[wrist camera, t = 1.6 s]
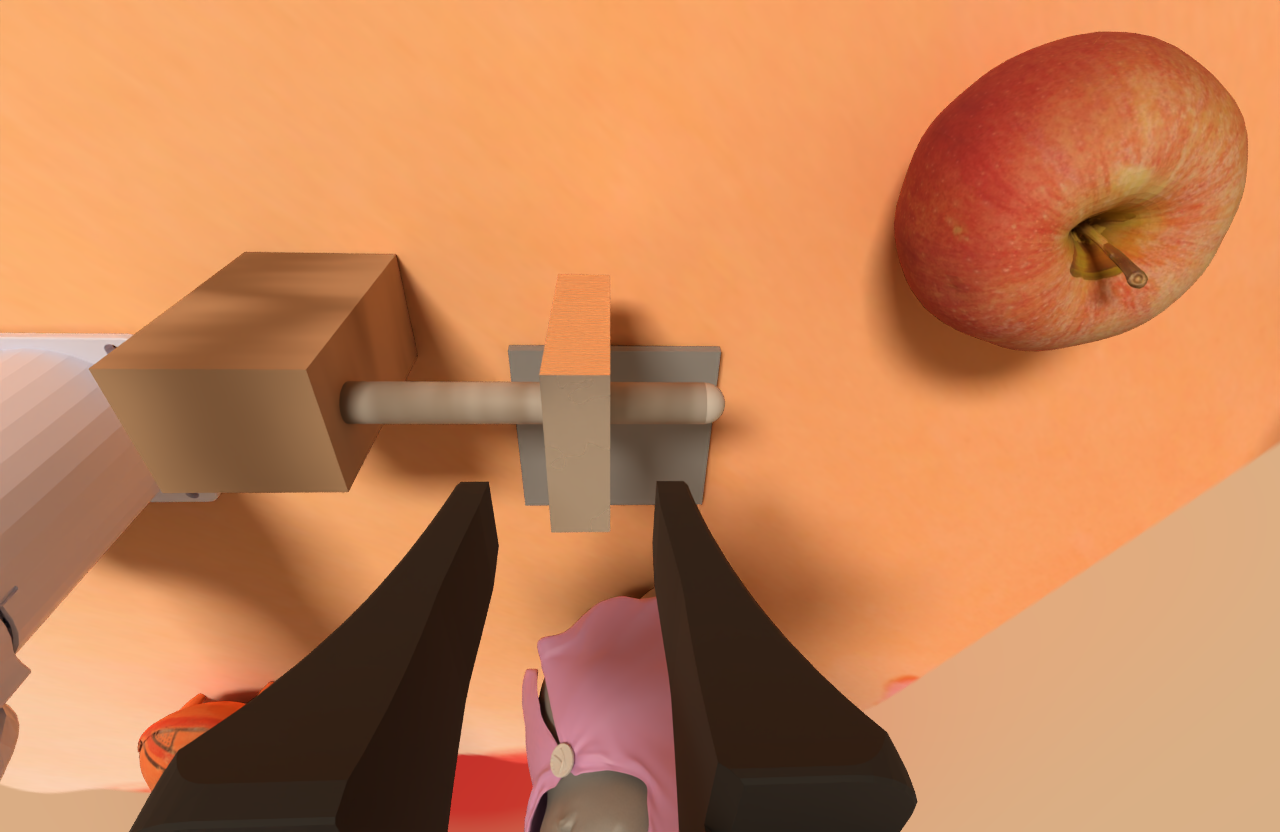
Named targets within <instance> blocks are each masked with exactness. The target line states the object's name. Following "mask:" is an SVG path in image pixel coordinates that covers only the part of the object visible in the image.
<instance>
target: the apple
mask: <svg viewBox="0 0 1280 832" xmlns="http://www.w3.org/2000/svg"><path fill="white" fill-rule="evenodd" d="M1247 161H1248V138H1247V131H1246V126H1245V122H1244V118H1243V116H1242V113H1241V111H1240V109H1239V107H1238V106H1237V104H1236V102H1235V100H1234V99H1233V98H1232V96H1231V95H1230V94H1229V93H1228V91H1227V90H1226V89H1225V88H1224V87H1223V85H1222V84H1221V83H1220V82H1219V81H1218V80H1217V79H1216V78H1215V77H1214V75H1213V74H1211V73H1210V72H1209V71H1208V70H1207V69H1206V68H1205V67H1203V66H1202V65H1201V64H1200V63H1198V62H1197V61H1196V60H1194V59H1193V58H1192V57H1191V56H1189V55H1188V54H1186V53H1185V52H1183V51H1182V50H1180V49H1179V48H1177V47H1176V46H1173V45H1171V44H1169V43H1167V42H1164V41H1162V40H1160V39H1157V38H1155V37H1151V36H1146V35H1141V34H1136V33H1128V32H1094V33H1088V34H1081V35H1076V36H1071V37H1067V38H1063V39H1060V40H1057V41H1053V42H1050V43H1047V44H1044V45H1041V46H1039V47H1036V48H1033V49H1031V50H1028V51H1026V52H1024V53H1022V54H1019V55H1017V56H1015V57H1013V58H1011V59H1009V60H1007V61H1005V62H1004V63H1002V64H1000V65H998V66H997V67H995V68H994V69H992V70H990V71H989V72H988V73H986V74H985V75H983V76H982V77H981V78H980V79H978V80H977V81H976V82H975V83H973V84H972V85H971V86H970V87H969V88H967V89H966V90H965V91H964V92H963V93H962V94H960V95H959V96H958V97H957V98H956V99H955V100H954V101H953V102H951V103H950V104H949V105H948V106H947V107H946V108H945V109H944V110H943V111H942V112H941V113H940V114H939V115H938V116H937V117H936V119H935V120H934V121H933V122H932V124H931V125H930V126H929V127H928V129H927V130H926V132H925V134H924V135H923V137H922V138H921V140H920V142H919V144H918V146H917V148H916V150H915V152H914V155H913V158H912V160H911V163H910V166H909V168H908V171H907V174H906V177H905V180H904V183H903V186H902V189H901V192H900V196H899V199H898V203H897V207H896V213H895V220H894V230H895V242H896V247H897V253H898V257H899V261H900V264H901V267H902V270H903V273H904V275H905V278H906V281H907V283H908V284H909V286H910V288H911V290H912V291H913V293H914V294H915V296H916V297H917V299H918V300H919V301H920V302H921V304H922V305H923V306H924V307H925V308H926V309H927V310H928V311H929V312H930V313H932V314H933V315H934V316H935V317H937V318H938V319H939V320H941V321H942V322H943V323H945V324H947V325H949V326H951V327H953V328H955V329H956V330H958V331H960V332H963V333H965V334H968V335H970V336H973V337H975V338H979V339H982V340H984V341H987V342H990V343H993V344H995V345H998V346H1001V347H1004V348H1009V349H1013V350H1021V351H1045V350H1054V349H1060V348H1066V347H1070V346H1075V345H1080V344H1085V343H1090V342H1094V341H1098V340H1102V339H1105V338H1109V337H1112V336H1116V335H1119V334H1122V333H1124V332H1127V331H1129V330H1132V329H1134V328H1136V327H1138V326H1140V325H1142V324H1144V323H1146V322H1147V321H1149V320H1151V319H1152V318H1154V317H1155V316H1157V315H1158V314H1160V313H1161V312H1163V311H1164V310H1165V309H1167V308H1168V307H1169V306H1170V305H1171V304H1173V303H1174V302H1175V301H1176V300H1177V299H1179V298H1180V297H1181V296H1182V295H1183V294H1184V293H1185V292H1186V291H1187V290H1188V289H1189V288H1190V287H1191V286H1192V285H1193V284H1194V283H1195V282H1196V281H1197V279H1198V278H1199V277H1200V276H1201V275H1202V274H1203V272H1204V271H1205V270H1206V268H1207V267H1208V266H1209V264H1210V262H1211V261H1212V259H1213V257H1214V256H1215V254H1216V252H1217V250H1218V248H1219V246H1220V244H1221V242H1222V240H1223V238H1224V236H1225V234H1226V232H1227V231H1228V229H1229V227H1230V225H1231V223H1232V221H1233V218H1234V216H1235V214H1236V212H1237V210H1238V207H1239V204H1240V201H1241V198H1242V195H1243V192H1244V187H1245V182H1246V173H1247Z"/></svg>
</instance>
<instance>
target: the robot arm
mask: <svg viewBox="0 0 1280 832" xmlns="http://www.w3.org/2000/svg"><path fill="white" fill-rule="evenodd" d="M132 336H133V335H131V334H87V333H0V781H1V778H2V776H3V774H4V772H5V770H6V767H7V765H8V763H9V761H10V759H11V757H12V755H13V752H14V749H15V745H16V742H17V739H18V734H19V722H18V718H17V715H16V713H15V712H14V711H13V710H12V708H11V707H10V706H9V705H7V704H5V703H6V702H7V700H8V699H9V698H10V697H11V696H12V694H13V693H14V692H15V691H16V690H17V688H18V687H19V686H20V685H21V684H22V682H23V681H24V680H25V679H26V678H27V676H28V675H29V674H30V673H31V670H30V669H29V668H28V667H27V666H26V665H24V664H23V663H22V662H21V661H20V660H19V659H18V658H17V657H16V655H15V654H16V653H17V652H18V651H19V650H20V649H21V648H22V646H23V645H24V644H25V643H26V642H27V641H28V640H29V638H30V637H31V636H32V635H33V634H34V633H35V632H36V631H37V629H38V628H39V627H40V626H41V625H42V624H43V623H44V621H45V620H46V619H47V618H48V617H49V616H50V615H51V613H52V612H53V611H54V610H55V609H56V608H57V607H58V606H59V604H60V603H61V602H62V601H63V600H64V599H65V598H66V596H67V595H68V594H69V593H70V592H71V591H72V590H73V589H74V587H75V586H76V585H77V584H78V583H79V582H80V581H81V579H82V578H83V577H84V576H85V575H86V574H87V573H88V571H89V570H90V569H91V568H92V567H93V566H94V565H95V564H96V562H97V561H98V560H99V559H100V558H101V557H102V556H103V554H104V553H105V552H106V551H107V550H108V549H109V548H110V546H111V545H112V544H113V543H114V542H115V541H116V540H117V539H118V537H119V536H120V535H121V534H122V533H123V532H124V531H125V529H126V528H127V527H128V526H129V525H130V524H131V523H132V522H133V520H134V519H135V518H136V517H137V516H138V515H139V514H140V512H141V511H142V510H143V509H144V508H145V507H146V506H147V504H148V503H149V502H211V501H214V500H216V499H217V498H218V497H219V495H220V494H221V493H162V492H161V490H160V489H159V487H158V485H157V483H156V482H155V480H154V478H153V477H152V475H151V473H150V472H149V470H148V468H147V467H146V465H145V463H144V462H143V460H142V458H141V456H140V455H139V453H138V451H137V450H136V448H135V446H134V445H133V443H132V441H131V440H130V438H129V436H128V435H127V433H126V431H125V429H124V428H123V426H122V424H121V423H120V421H119V419H118V418H117V416H116V414H115V413H114V411H113V409H112V408H111V406H110V404H109V403H108V401H107V399H106V397H105V396H104V394H103V392H102V391H101V389H100V387H99V386H98V384H97V382H96V381H95V379H94V377H93V376H92V374H91V372H90V370H89V368H90V367H91V366H93V365H94V364H95V363H97V362H98V361H99V360H101V359H102V358H103V357H105V356H106V355H107V354H109V353H110V352H112V351H113V350H114V349H115V348H114V347H113V345H114V346H116V347H118V346H120V345H121V344H122V343H124V342H125V341H126V340H128V339H129V338H130V337H132ZM498 547H499V544H498V538H497V532H496V525H495V519H494V513H493V506H492V500H491V493H490V487H489V482H460V483H459V484H458V485H457V486H456V487H455V489H454V490H453V492H452V493H451V495H450V496H449V498H448V499H447V501H446V502H445V504H444V505H443V506H442V508H441V509H440V511H439V512H438V513H437V515H436V516H435V518H434V519H433V520H432V522H431V523H430V524H429V526H428V527H427V529H426V530H425V531H424V532H423V534H422V535H421V536H420V538H419V539H418V540H417V541H416V543H415V544H414V545H413V547H412V548H411V549H410V550H409V552H408V553H407V554H406V555H405V557H404V558H403V559H402V560H401V561H400V563H399V564H398V565H397V566H396V567H395V568H394V570H393V571H392V572H391V573H390V574H389V575H388V576H387V578H386V579H385V580H384V581H383V582H382V583H381V585H380V586H379V587H378V588H377V589H376V590H375V591H374V592H373V593H372V594H371V595H370V596H369V598H368V599H367V600H366V601H365V602H364V603H363V604H362V605H361V606H360V607H359V608H358V609H357V610H356V611H355V612H354V613H353V614H352V615H351V616H350V617H349V618H348V619H347V620H346V621H345V622H344V623H343V624H342V625H341V626H340V627H339V628H337V629H336V630H335V631H334V632H333V633H332V634H331V635H330V636H329V637H328V638H326V639H325V640H324V641H323V642H322V643H321V644H320V645H319V646H318V647H317V648H315V649H314V650H313V651H312V652H311V653H310V654H309V655H307V656H306V657H305V658H304V659H303V660H302V661H300V662H299V663H298V664H297V665H296V666H294V667H293V668H292V669H290V670H289V671H288V672H287V673H285V674H284V675H283V676H282V677H280V678H279V679H278V680H276V681H275V682H274V683H273V684H271V685H270V686H269V687H268V688H266V689H265V690H264V691H262V692H261V693H260V694H259V695H257V696H256V697H255V698H253V699H252V700H251V701H249V702H248V703H247V704H245V705H244V706H243V707H241V708H240V709H239V710H237V711H236V712H234V713H233V714H231V715H230V716H228V717H227V718H225V719H224V720H223V721H221V722H220V723H218V724H217V725H215V726H214V727H212V728H211V729H209V730H208V731H206V732H205V733H203V734H202V735H200V736H199V737H198V738H196V739H195V740H193V741H192V742H190V743H189V744H187V745H185V746H184V747H182V748H181V749H179V750H178V751H177V753H176V754H175V756H174V757H173V759H172V760H171V762H170V763H169V765H168V766H167V768H166V769H165V771H164V772H163V774H162V775H161V777H160V778H159V780H158V782H157V783H156V785H155V787H154V789H153V790H152V792H151V794H150V796H149V798H148V799H147V801H146V803H145V805H144V806H143V808H142V810H141V812H140V814H139V815H138V817H137V819H136V821H135V822H134V824H133V826H132V828H131V830H130V831H129V832H448V824H449V815H450V807H451V799H452V792H453V783H454V777H455V770H456V763H457V756H458V748H459V742H460V735H461V729H462V722H463V715H464V709H465V703H466V698H467V693H468V688H469V683H470V679H471V675H472V671H473V667H474V663H475V659H476V655H477V651H478V647H479V644H480V640H481V636H482V632H483V628H484V624H485V620H486V616H487V612H488V608H489V604H490V600H491V595H492V591H493V586H494V579H495V572H496V564H497V555H498ZM653 565H654V585H655V592H656V599H657V605H658V612H659V618H660V625H661V631H662V637H663V644H664V650H665V657H666V663H667V669H668V676H669V684H670V693H671V704H672V719H673V735H674V751H675V768H676V786H677V804H678V824H679V832H900V831H901V830H902V828H903V827H904V825H905V824H906V822H907V821H908V820H909V818H910V817H911V815H912V813H913V811H914V809H915V806H916V804H917V798H916V794H915V791H914V788H913V785H912V782H911V780H910V777H909V775H908V772H907V770H906V768H905V766H904V764H903V762H902V760H901V758H900V756H899V754H898V752H897V750H896V748H895V746H894V744H893V743H892V741H891V739H890V737H889V735H888V733H887V732H886V731H885V730H884V729H882V728H881V727H880V726H879V725H878V724H876V723H875V722H874V721H873V720H871V719H870V718H869V717H868V716H867V715H865V714H864V713H863V712H862V711H861V710H860V709H858V708H857V707H856V706H855V705H854V704H853V703H852V702H850V701H849V700H848V699H847V698H846V697H845V696H844V695H843V694H842V693H840V692H839V691H838V690H837V689H836V688H835V687H834V686H833V685H832V684H831V683H830V682H829V681H828V680H827V679H826V678H824V677H823V676H822V675H821V674H820V673H819V672H818V671H817V670H816V669H815V668H814V667H813V665H812V664H811V663H810V662H809V661H808V660H807V659H806V658H805V657H804V656H803V655H802V654H801V653H800V652H799V651H798V650H797V649H796V648H795V647H794V646H793V645H792V644H791V643H790V642H789V641H788V639H787V638H786V637H785V636H784V635H783V634H782V633H781V631H780V630H779V629H778V628H777V627H776V626H775V624H774V623H773V622H772V621H771V620H770V619H769V617H768V616H767V615H766V614H765V612H764V611H763V610H762V609H761V607H760V606H759V605H758V604H757V602H756V601H755V600H754V598H753V597H752V596H751V594H750V593H749V592H748V590H747V589H746V587H745V586H744V585H743V583H742V582H741V580H740V579H739V577H738V576H737V574H736V573H735V572H734V570H733V569H732V567H731V565H730V564H729V562H728V561H727V559H726V558H725V556H724V554H723V553H722V551H721V549H720V548H719V546H718V544H717V543H716V541H715V539H714V538H713V536H712V534H711V532H710V531H709V529H708V527H707V525H706V523H705V521H704V519H703V518H702V516H701V514H700V512H699V510H698V508H697V505H696V503H695V501H694V499H693V496H692V494H691V492H690V489H689V486H688V484H686V483H685V482H684V481H656V496H655V512H654V528H653Z"/></svg>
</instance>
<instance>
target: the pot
mask: <svg viewBox="0 0 1280 832" xmlns="http://www.w3.org/2000/svg"><path fill="white" fill-rule="evenodd" d="M273 683H274V682H272V681H271V682H269V683H268V684H267V685H266V686H265V687H264V688H263V689H262V690H261V692H262V691H264V690H265V689H266V688H268V687H269V686H270V685H271V684H273ZM261 692H260V693H261ZM260 693H259V694H260ZM259 694H258V695H259ZM204 699H205V696H204V695H203V694H201V693H200V694H198V695H197V696H195V697H194V698H192V699H191V700H190V701H189V702H187V703H186V704H185V705H184V706H183V707H182V708H181V709H180V710H179V711H176V712H174V713H172V714H170V715H168V716H166V717H164V718H163V719H161V720H159V721H157V722H156V723H154V724H153V725H151V726H150V727H149V728H148V729H147V730H146V731H145V732H144V733H143V734H142V735H141V737H140V739H139V742H138V751H139V752H140V753H139V754H140V755H139V758H140V768H141V772H142V774H143V777H144V779H145V781H146V783H147V785H148V786H149V788H150V789H151V791H152V790H153V789H154V787H155V785H156V783H157V782H158V780H159V778H160V777H161V775H162V774H163V772H164V771H165V769H166V768H167V766H168V765H169V763H170V762H171V760H172V759H173V757H174V756H175V754H176V753H177V751H178V750H179V749H181V748H182V747H184V746H185V745H187V744H189V743H190V742H192V741H193V740H195V739H196V738H198V737H199V736H200V735H202V734H203V733H205V732H206V731H208V730H209V729H211V728H212V727H214V726H215V725H217V724H218V723H220V722H221V721H223V720H224V719H225V718H227V717H228V716H230V715H231V714H233V713H234V712H236V711H237V710H239V709H240V708H241V707H243V706H244V705H245V703H240V702H233V701H219V702H209V703H203V701H204Z"/></svg>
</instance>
